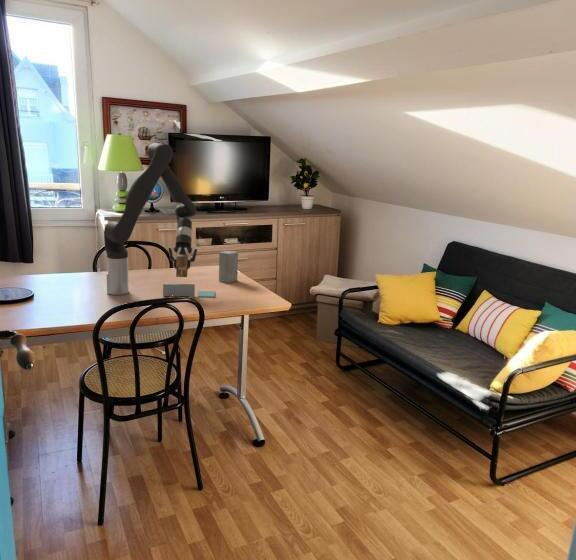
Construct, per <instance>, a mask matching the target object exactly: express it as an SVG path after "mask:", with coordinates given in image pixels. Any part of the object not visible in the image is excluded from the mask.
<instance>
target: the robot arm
mask: <svg viewBox="0 0 576 560" xmlns="http://www.w3.org/2000/svg"><path fill="white" fill-rule="evenodd" d="M146 152H147V153H146V154H147V157H148V159H149V160H150V163H149V165H148V167H147V168H146V169H145V170H144V171H143V172H142V173H141V174H140V175H138V177H136V179H135V180H134V181H133V183H132V184H131V186H130V188H129V190H128V192H127V193H126V197H125V208H124V211H123V213H122V215H121V218H120V219H119V221H109V222H108V223H107V224H106V225H105V226H104V230H103V239H104V242H103V243H104V250H105V252H106V262H107V264H106V265H107V267H106V268H107V271H106V272H107V273H106V294H109V295H112V296H121V295H126V294H128V293H129V291H130V290H129V288H130V287H129V251H128V249H126V246H125V243H126V242H128V241H129V239H130V238H131V236H132V233H133V231H134V229H135V226H136V223H137V221H138V219H139V217H140V215H141V213H142V211H143V209H144V208H145V206H146V204H147V202H148V201H149V199H150V197H151V195H152V193H153V190H154V189H155V187H156V185H157V184H158V181H160V178H161V179H162V181H163V183H164V184H165V186H166V188H167V191H168V193H169V196H171V199H172V201H173V202H174V203H176V204H177V203H178V205H176V206H175V208H174V214H175V217H176V218H175V219H176V223H177V224H176V225H177V226H176V232H175V234H176V235H175V244H174V245H175V246H174V248H171V247H168V254H169V260H170V261H171V262H173V268H174V269H175V270H176V259H177V254H186V255H188V262H187V269H188V270H189V269H190V268H191V263H194V262H195V261H196V257H197V255H198V249H197V248H195V249H194V248H192V240H193V234H192V233H193V232H192V231H193V222H192V220H191V219H190V218H192V217H195V216H196V215H197V207H196V205H195V203H194V202H193V201H192V200H191V199H190V198H189V197H188V195H187V194H186V191H185V189H184V187H183V185H182V183H181V181H180V180H179V178H178V177H177V176H176V174H175V173H174V172H173V170H172V169H171V167H170V166H169V164H171V163H170V162H171V161H172V159H173V156H174V150H173V148H172V146H171V145H169V144H167V143H161V142H160V143H159V142H154V143H151V144H149V146H148V148H147V150H146ZM174 252H175V255H174V256H173V254H174ZM191 253H192V257H191V256H190V254H191Z"/></svg>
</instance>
